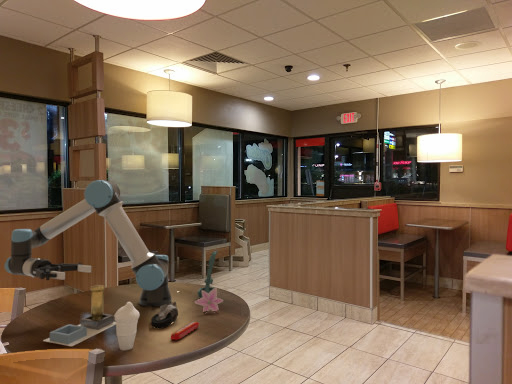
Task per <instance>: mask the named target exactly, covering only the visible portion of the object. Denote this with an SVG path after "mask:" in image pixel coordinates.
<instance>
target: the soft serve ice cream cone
mask: <svg viewBox="0 0 512 384" xmlns="http://www.w3.org/2000/svg"><path fill="white" fill-rule="evenodd" d="M140 315H141V314H140V312H139V310H137V309H136V308H135V306H134V305H133V302H131V301H127V302H126V303H125V305H123V306H121V307H120V308H118V310H117V311H116V312H115V314H113V321H114V322H116V325H115V327H116V328H115V329H116V332H115V334H116V337H117V341H118V347H119V350H120V351H129V350H132V349H133V348H134V343H135V338H136V335H137V326H138V320H139V318H140Z"/></svg>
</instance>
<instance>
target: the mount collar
mask: <svg viewBox="0 0 512 384" xmlns="http://www.w3.org/2000/svg"><path fill="white" fill-rule="evenodd" d="M113 322H114V314H109V313H103V319H100V320H98V321H97V320H91V314H90V315H87V316H85V317H83V318H80V324H81V326H83V327H87V328H90V329H96V330H99V329H101V328H103V327H105V326H107V325H109V324H111V323H113Z"/></svg>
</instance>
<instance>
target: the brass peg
mask: <svg viewBox="0 0 512 384" xmlns="http://www.w3.org/2000/svg"><path fill="white" fill-rule="evenodd" d="M105 289H106V286H105V285H103V284H95V285H92V286H90V291H91V306H90V307H91V308H90V309H91V311H90V313H91V314H90V315H91V320H97V321H98V320H100V319H103V314H104V300H105V299H104V297H105V296H104V295H105Z"/></svg>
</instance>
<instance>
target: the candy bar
mask: <svg viewBox="0 0 512 384" xmlns="http://www.w3.org/2000/svg"><path fill="white" fill-rule="evenodd" d="M199 325H200V322H198V321H192V322H190V323H187V324H186V325H184V326H183V327H181V328H179V329H178V330H176V331H174V332H173V333H171V334H170V339H169V340H171V341H177V340H180V339H183V338H184V337H186V336H187V335H189V334H190V333H192V332H193V331H194V329H195V330H196V329H197V327H198V328H199ZM191 331H192V332H191ZM188 333H189V334H188ZM185 335H186V336H185Z"/></svg>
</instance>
